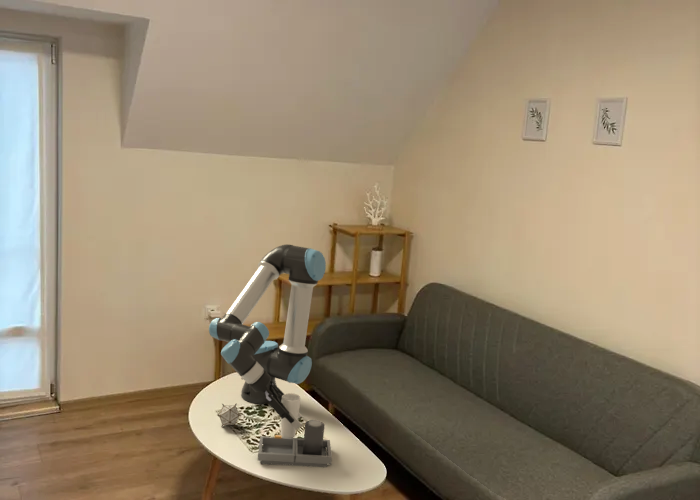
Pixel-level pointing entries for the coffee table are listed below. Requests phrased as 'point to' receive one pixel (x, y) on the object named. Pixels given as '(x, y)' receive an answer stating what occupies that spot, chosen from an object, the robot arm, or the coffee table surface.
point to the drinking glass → (292, 406)
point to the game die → (229, 415)
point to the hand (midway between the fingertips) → (298, 422)
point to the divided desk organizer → (297, 448)
